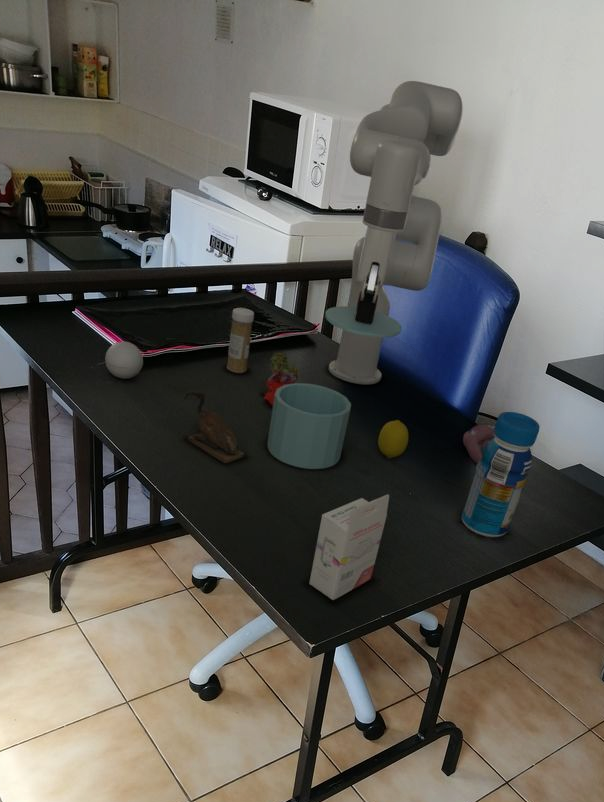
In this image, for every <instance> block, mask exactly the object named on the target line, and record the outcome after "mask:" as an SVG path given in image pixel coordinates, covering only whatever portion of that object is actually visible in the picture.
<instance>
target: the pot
mask: <svg viewBox="0 0 604 802" xmlns="http://www.w3.org/2000/svg"><path fill="white" fill-rule="evenodd" d="M351 408H352V403H351V402H350V401H349V399H348V398H347V396H345V395H343V394H342V393H340V392H339V391H336V390H334V389H331V388H329V387H327V386H323V385H318V384H313V383H303V382H302V383H301V382H295V383H294V384H287V385H284V386H282V387H280V388H278V389H277V390H276V393H275V397H274V404H273V406H272V409H271V417H270V423H269V431H268V436H267V443H266V444H267V449H268V451H269V453H270V454H271V455H272V456H273V457H274V458H276V460H278V461H280V462H282V463H284V464H287V465H289V466H293V467H296V468H301V469H308V470H320V469H327V468H330V467H333V466H335V465H337V463H338V462H340V459H341V455H342V451H343V447H344V442H345V437H346V432H347V427H348V423H349V418H350V413H351Z"/></svg>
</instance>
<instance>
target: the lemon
mask: <svg viewBox="0 0 604 802" xmlns="http://www.w3.org/2000/svg"><path fill="white" fill-rule="evenodd" d="M408 443H409V430H408V428H407V426H406V425H405V424H404V422H401V421H400V420H399V419H395V420H391V421H388V422H386V423H385V424H384V425H383V426H382V428H381V429H380V432H379V434H378V440H377V445H378V448H379V450H380V452H381V453H382V454H383V455H384V456H385V457H386V458H387V459H393V458H396V457H399V456H401V455H402V454H403V453H404V452H405V451H406V448H407V446H408Z"/></svg>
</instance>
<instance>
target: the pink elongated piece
mask: <svg viewBox="0 0 604 802" xmlns="http://www.w3.org/2000/svg"><path fill="white" fill-rule="evenodd" d="M494 428H495V425H492V424H491V425H490V424H478V425H475V426H473V427H472V428H471V429H469V430H467V431H466V432H465V433H464V434H463V437H462V442H463V445H464V447H465V448H466V451H467V453H468V456H469V457H470V459H471V460H472V461H473V462H474V463H476V465H477V464H478V462H479V460H480V459H481V458H482V450H483V448H484V447H485V445H486V444H487V443H488V442H489V441H490V440H491V439H493V438H494V437H495V436H494Z"/></svg>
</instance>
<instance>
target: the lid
mask: <svg viewBox="0 0 604 802" xmlns="http://www.w3.org/2000/svg"><path fill="white" fill-rule="evenodd" d="M361 295H362V291H360V293H359V298H358V302H357V307H348V306H343V305H342V306H332V307H330V308H328V309H327V310H326V311H325V314H324V318H325V319H326V321H327V322H328V323H329V324H331V325H332V326H334V327H336V328H338V329H340V330H342V331H343V330H345V331H348V332H351V333H355V334H359V335H364V336H370V337H383V338H393V337H397V336H398V335H400V334H401V333H402V332H401V331H402V325H401V324H400V323H399V322H398V321H397V320H396V319H395V318H393V317H392V316H389V315H388V316H387V315H384V314H382V313H379V312H376V307H375V312H374V316H373V321H372V323H371V324H368V323H363V322H358V321H356V320H355V318H356V313H357V308H358V303H359V299H361ZM378 297H379V296H378V294H377V296H376V301H375V302H376V306H377V301H378ZM363 300H364V299H363Z"/></svg>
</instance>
